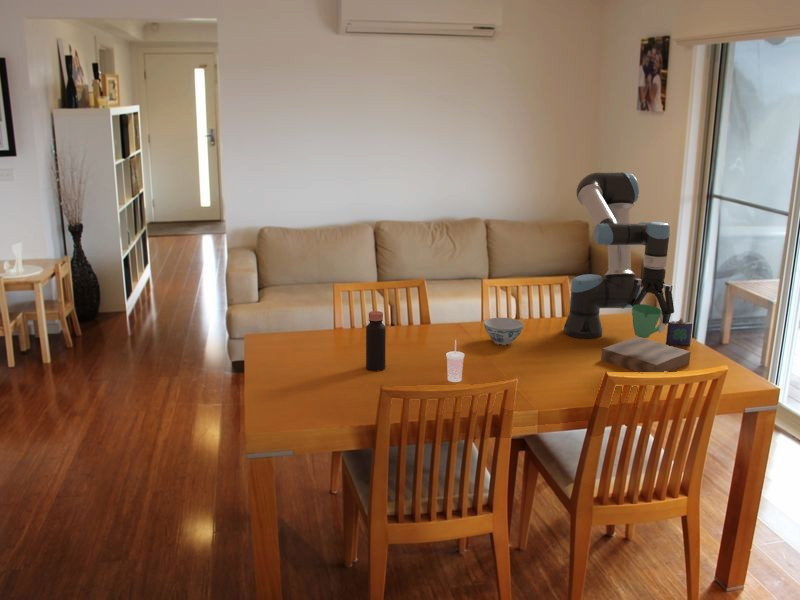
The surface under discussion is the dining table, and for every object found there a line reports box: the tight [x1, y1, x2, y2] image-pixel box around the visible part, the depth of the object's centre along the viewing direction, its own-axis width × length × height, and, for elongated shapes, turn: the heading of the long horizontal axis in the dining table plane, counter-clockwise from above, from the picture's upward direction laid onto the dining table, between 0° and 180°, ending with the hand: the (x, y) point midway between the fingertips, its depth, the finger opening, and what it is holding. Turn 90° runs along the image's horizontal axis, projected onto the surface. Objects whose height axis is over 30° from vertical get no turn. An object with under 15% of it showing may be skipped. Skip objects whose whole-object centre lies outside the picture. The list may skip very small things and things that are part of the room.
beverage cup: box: [445, 339, 465, 383], centre depth 254 cm, size 6×6×14 cm
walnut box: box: [600, 336, 692, 373], centre depth 274 cm, size 22×22×5 cm
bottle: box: [365, 310, 387, 372], centre depth 263 cm, size 7×7×20 cm
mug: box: [631, 303, 672, 339], centre depth 270 cm, size 15×10×10 cm
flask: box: [665, 317, 693, 347], centre depth 292 cm, size 9×3×11 cm, turn 87°
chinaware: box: [483, 317, 524, 346], centre depth 293 cm, size 15×15×8 cm
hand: (648, 328), depth 271 cm, fingers closed on mug, 10 cm apart
